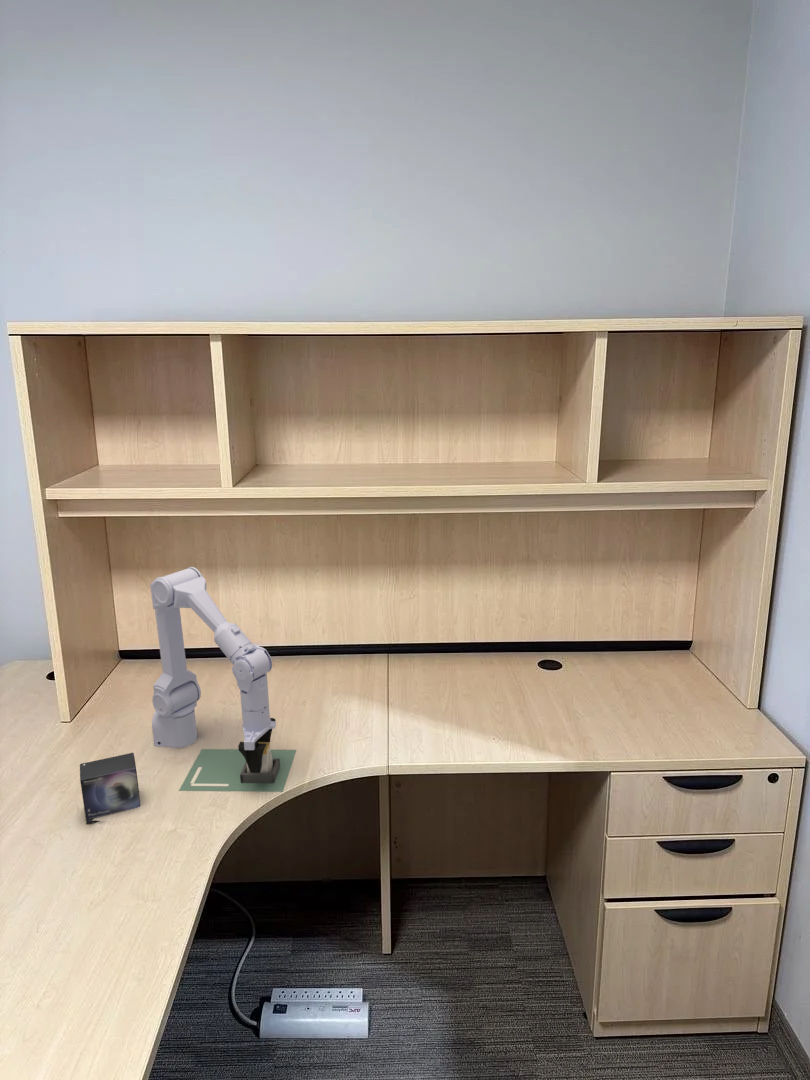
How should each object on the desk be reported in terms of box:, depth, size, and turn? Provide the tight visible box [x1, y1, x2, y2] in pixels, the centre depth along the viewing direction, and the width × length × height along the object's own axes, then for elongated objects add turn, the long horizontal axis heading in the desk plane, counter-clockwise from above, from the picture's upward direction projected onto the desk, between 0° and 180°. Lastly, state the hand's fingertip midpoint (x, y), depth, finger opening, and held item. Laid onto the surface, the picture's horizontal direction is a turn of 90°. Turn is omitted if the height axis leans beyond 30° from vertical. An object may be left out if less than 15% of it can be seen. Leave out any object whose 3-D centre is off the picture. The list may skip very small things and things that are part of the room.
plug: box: [246, 741, 273, 773], centre depth 160 cm, size 5×4×7 cm
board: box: [178, 748, 297, 793], centre depth 162 cm, size 22×16×3 cm
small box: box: [79, 752, 141, 825], centre depth 150 cm, size 11×6×10 cm, turn 114°
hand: (259, 761), depth 160 cm, fingers open, 7 cm apart
